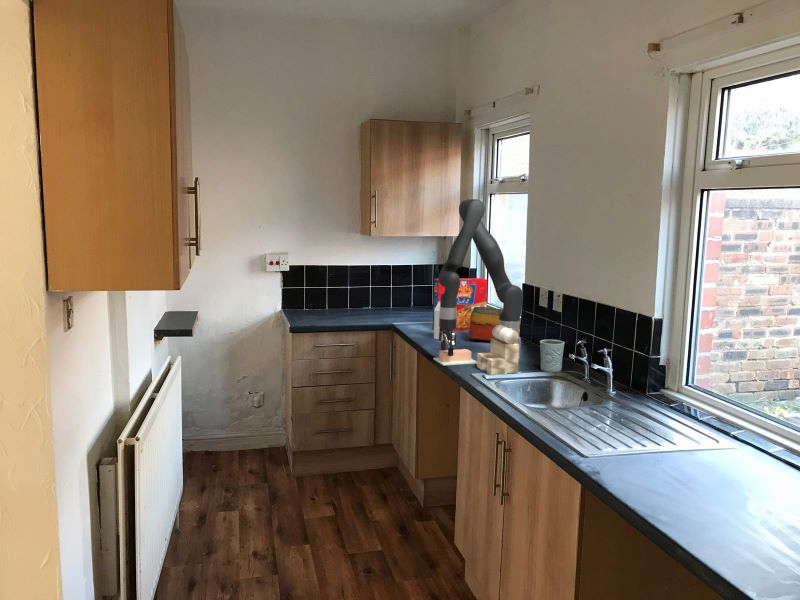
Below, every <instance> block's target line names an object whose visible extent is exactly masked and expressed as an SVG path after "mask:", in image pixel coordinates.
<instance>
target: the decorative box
mask: <svg viewBox="0 0 800 600" xmlns="http://www.w3.org/2000/svg"><path fill="white" fill-rule="evenodd" d="M502 311H503V308H495V307H494V308H493V307H487V306H486V307H474V309H473V310H472V312H471V317H470V329H469V330H470V331H468V339H470V341H473V342H475V341H482V342H483V341H484V342H487V343H491V339H494V337H493V335H492V330H493V328H494V327H495V326H496V325H499V314H500V313H501V312H502Z"/></svg>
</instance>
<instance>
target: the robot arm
mask: <svg viewBox="0 0 800 600" xmlns="http://www.w3.org/2000/svg"><path fill="white" fill-rule="evenodd" d="M485 212H486V206H485V203H484V202H483V201H482V200H480V199H477V198H472V199H465V200H463V201H461V202H460V204H459V206H458V213H459V216H460V218H461V220H462V221H463V224H462V228H461V229H460V231H459V233H458V235H457V236H456V237H455V239H454V241H453V243H452V245H451V247H450V250H449V253H448V256H447V259H446V261H445V263H444V265H443V266H442V268H441V269H440V272H439V274H438V278H437V279H438V280H439V283H440V285H442V286H444V287H445V291H444V293H443V294H442V295H441V298H440V312H439V327H440V328H439V339H438V341H439V343H440V350H448V356H453V350H455V349H454V348H457V332H454V331H453V329H455V328H456V323H457V309H456V304H457V295H458V291H459V287H460V275H459V274H458V272H457V270H458V269H460V268H461V267H463V265H464V262H465V259H466V256H467V253H468V250H469V248H470V244H471V243H472V240H473V243H474V245H475V247H476V249H477V251H478V254H479V256H480V259H481V261H482V262H483V265H484V268H485V269H486V270H487V273H488V275H489V277H490V279H491V281H492V284H493V288H494V291H495V293H496V296H497V298H498V300H499V301H500V303H502V304H503V307H502V309H503V311H502V312H501V313H500V314H499V325H502V326H504V327H507V328H509V329H512V330H514V331H516V332H517V333H518V340H517V342H516V344H519V357H518V359H520V358H521V344H522V343H521V341H522V339H521V337H520V322H521V321H520V320H521V316H522V313H523V303H524V293H523V290H522V288H521V287H520V286H518V285H516V284H513V283H512V282H511V281H510V278H509V277H508V275H507V271H506V269H505V258H504V254H503V252H502V249H501V247H500V245H499V244H498V241H497V240H496V238H495V237H494V236H493V234H492V233H491V232H489V230H488V229H487V228H486V226H485V224H484V223H483V221H482V219H483V218H484V215H485ZM447 347H448V348H447Z"/></svg>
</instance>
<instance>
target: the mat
mask: <svg viewBox="0 0 800 600" xmlns="http://www.w3.org/2000/svg"><path fill="white" fill-rule="evenodd" d="M433 360H434V361H435V362H437V363H439V364H440V365H442V366H452V365H453V366H455V365H457V366H458V365H472V364H476V365H477V360H475V359H473V358H471V361H453V362H442V361H441V360H439V357H433Z"/></svg>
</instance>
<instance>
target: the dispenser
mask: <svg viewBox="0 0 800 600" xmlns="http://www.w3.org/2000/svg"><path fill="white" fill-rule="evenodd" d="M492 335H493V337H494V339H491V342H490V351H489V352H477V353H476V355H477V356H476V361H477V363H476V368H478V369H479V368H480V370H486V374H488V373H489V374H488V375H490V374H492V375H491V376H494V375H493V374H501V375H508V374H507V373H516V374H518V373H519V358H518V357H519V344H516V342H517V340H518V333H517V332H516V331H514V330H512V329H509V328H507V327H504V326H502V325H496V326H495V327H494V328H493V330H492Z"/></svg>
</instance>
